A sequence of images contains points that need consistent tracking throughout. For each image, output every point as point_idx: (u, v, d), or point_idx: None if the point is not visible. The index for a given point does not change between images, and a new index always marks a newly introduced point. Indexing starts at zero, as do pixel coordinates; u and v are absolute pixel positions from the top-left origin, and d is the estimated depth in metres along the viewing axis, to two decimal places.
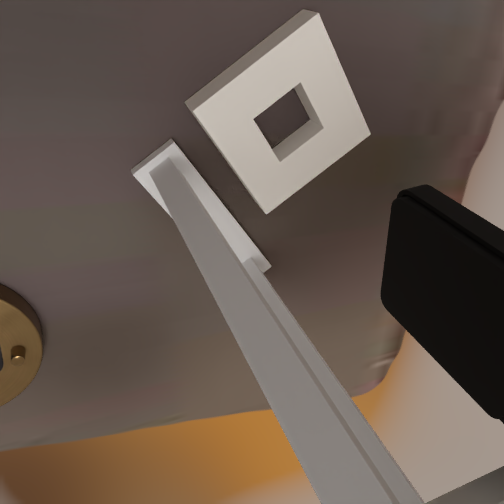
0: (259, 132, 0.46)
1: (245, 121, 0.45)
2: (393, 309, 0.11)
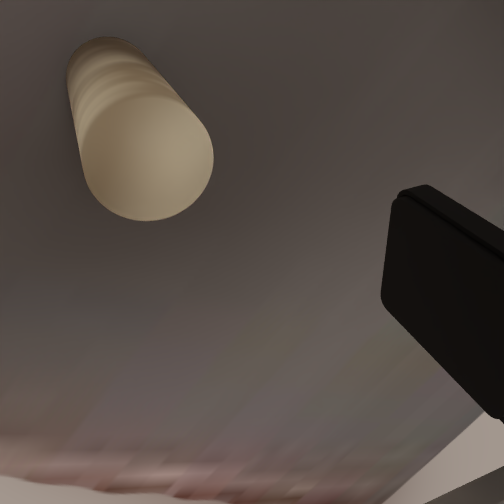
0: None
1: None
2: (393, 309, 0.11)
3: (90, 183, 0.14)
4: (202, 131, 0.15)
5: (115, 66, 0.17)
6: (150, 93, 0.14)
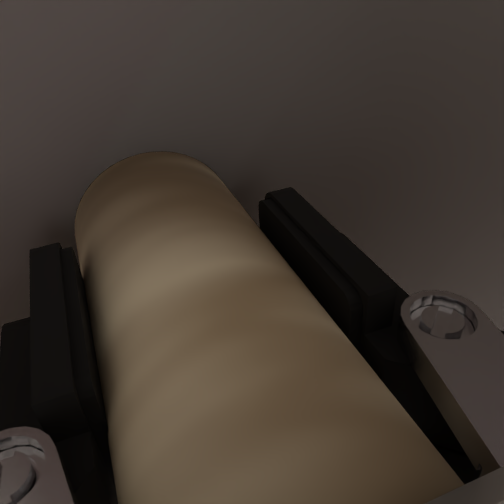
0: None
1: None
2: None
3: None
4: None
5: (214, 302, 0.07)
6: None
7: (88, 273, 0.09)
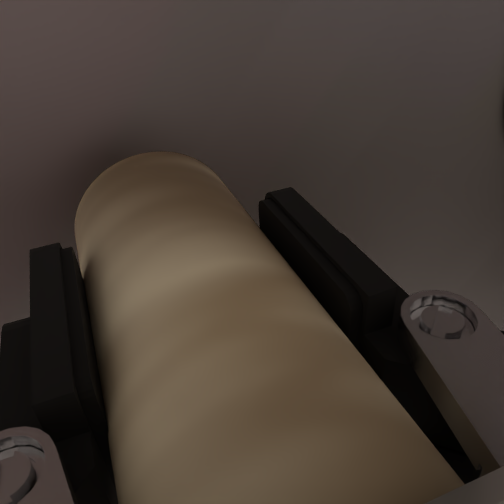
0: None
1: None
2: None
3: None
4: None
5: (214, 302, 0.07)
6: None
7: (88, 273, 0.09)
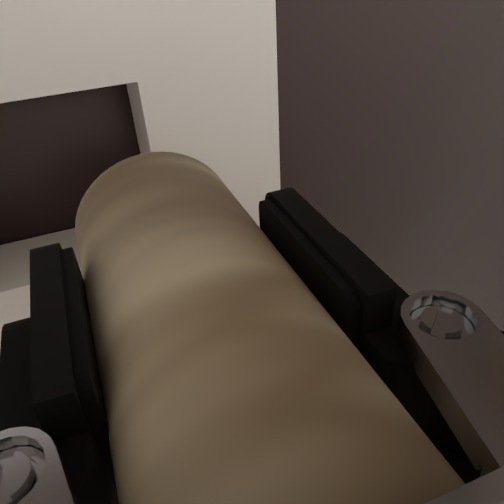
0: (79, 84, 0.13)
1: (144, 51, 0.13)
2: None
3: None
4: None
5: (215, 303, 0.07)
6: None
7: (89, 273, 0.09)
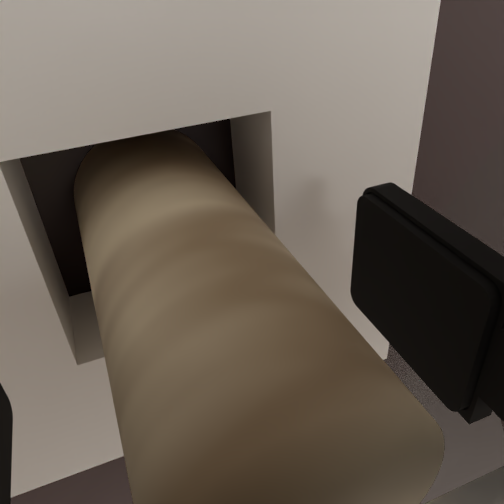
0: (204, 115, 0.10)
1: (283, 73, 0.10)
2: (362, 305, 0.11)
3: None
4: (433, 437, 0.06)
5: (187, 228, 0.08)
6: (325, 378, 0.05)
7: (86, 222, 0.11)
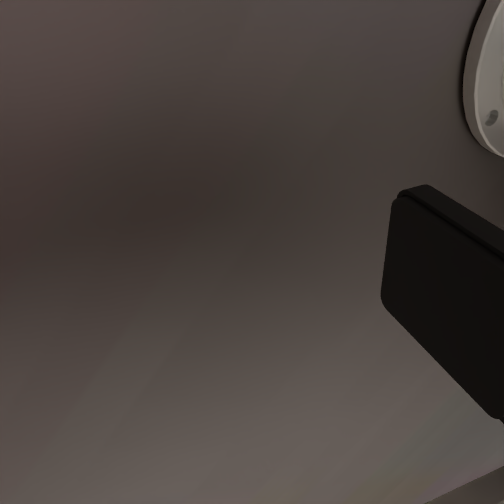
0: None
1: None
2: (393, 309, 0.11)
3: None
4: None
5: None
6: None
7: None
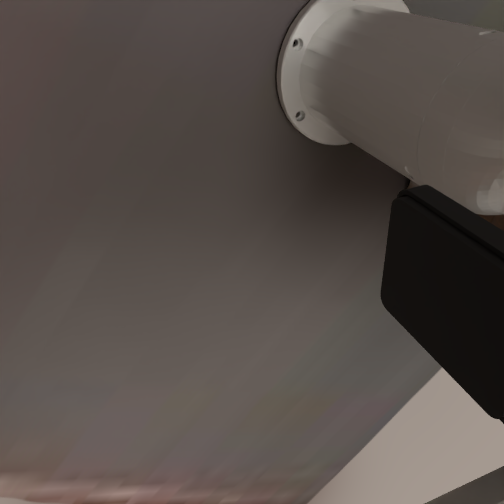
0: None
1: None
2: (393, 309, 0.11)
3: None
4: None
5: None
6: None
7: None
